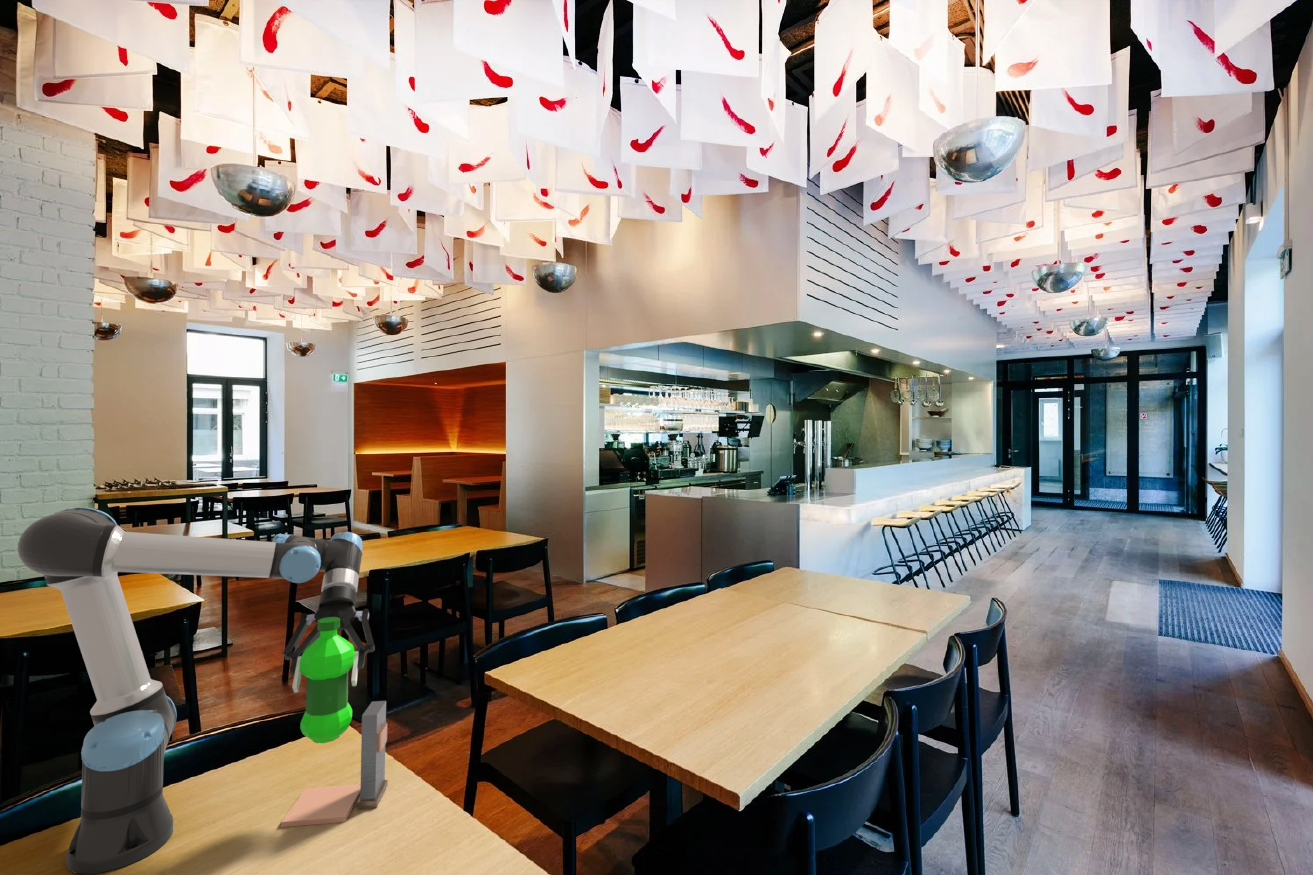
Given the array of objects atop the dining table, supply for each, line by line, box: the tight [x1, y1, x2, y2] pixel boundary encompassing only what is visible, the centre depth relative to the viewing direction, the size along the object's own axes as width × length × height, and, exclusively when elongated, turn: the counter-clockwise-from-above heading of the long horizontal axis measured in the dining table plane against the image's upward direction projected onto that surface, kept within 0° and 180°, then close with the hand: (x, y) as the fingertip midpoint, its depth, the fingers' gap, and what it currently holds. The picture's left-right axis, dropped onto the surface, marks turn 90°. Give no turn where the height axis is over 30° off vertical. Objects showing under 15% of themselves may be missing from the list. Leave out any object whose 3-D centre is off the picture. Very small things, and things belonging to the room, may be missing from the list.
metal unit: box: [356, 700, 389, 810], centre depth 131 cm, size 4×8×20 cm, turn 10°
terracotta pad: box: [280, 783, 361, 828], centre depth 127 cm, size 12×12×1 cm
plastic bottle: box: [299, 617, 356, 744], centre depth 127 cm, size 10×10×25 cm
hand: (325, 686), depth 125 cm, fingers closed on plastic bottle, 10 cm apart
